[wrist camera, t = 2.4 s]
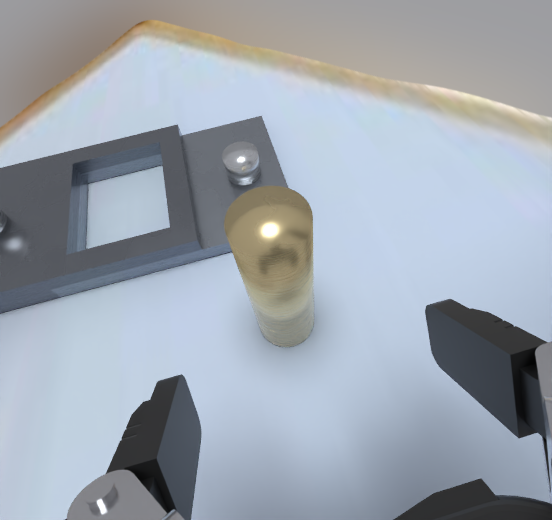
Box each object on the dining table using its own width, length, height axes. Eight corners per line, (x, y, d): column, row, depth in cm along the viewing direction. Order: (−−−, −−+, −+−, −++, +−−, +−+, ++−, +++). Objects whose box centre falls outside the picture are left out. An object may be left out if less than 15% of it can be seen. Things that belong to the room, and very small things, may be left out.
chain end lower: (263, 126, 34) (258, 96, 32) (301, 232, 27) (300, 205, 25) (69, 174, 33) (47, 147, 31) (60, 297, 26) (31, 276, 24)
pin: (304, 290, 25) (298, 176, 16) (321, 338, 23) (324, 242, 14) (254, 304, 25) (217, 197, 15) (266, 353, 23) (233, 267, 14)
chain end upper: (185, 145, 34) (169, 104, 30) (206, 258, 27) (188, 223, 23) (-12, 195, 33) (-54, 158, 29) (-43, 324, 26) (-103, 298, 22)
